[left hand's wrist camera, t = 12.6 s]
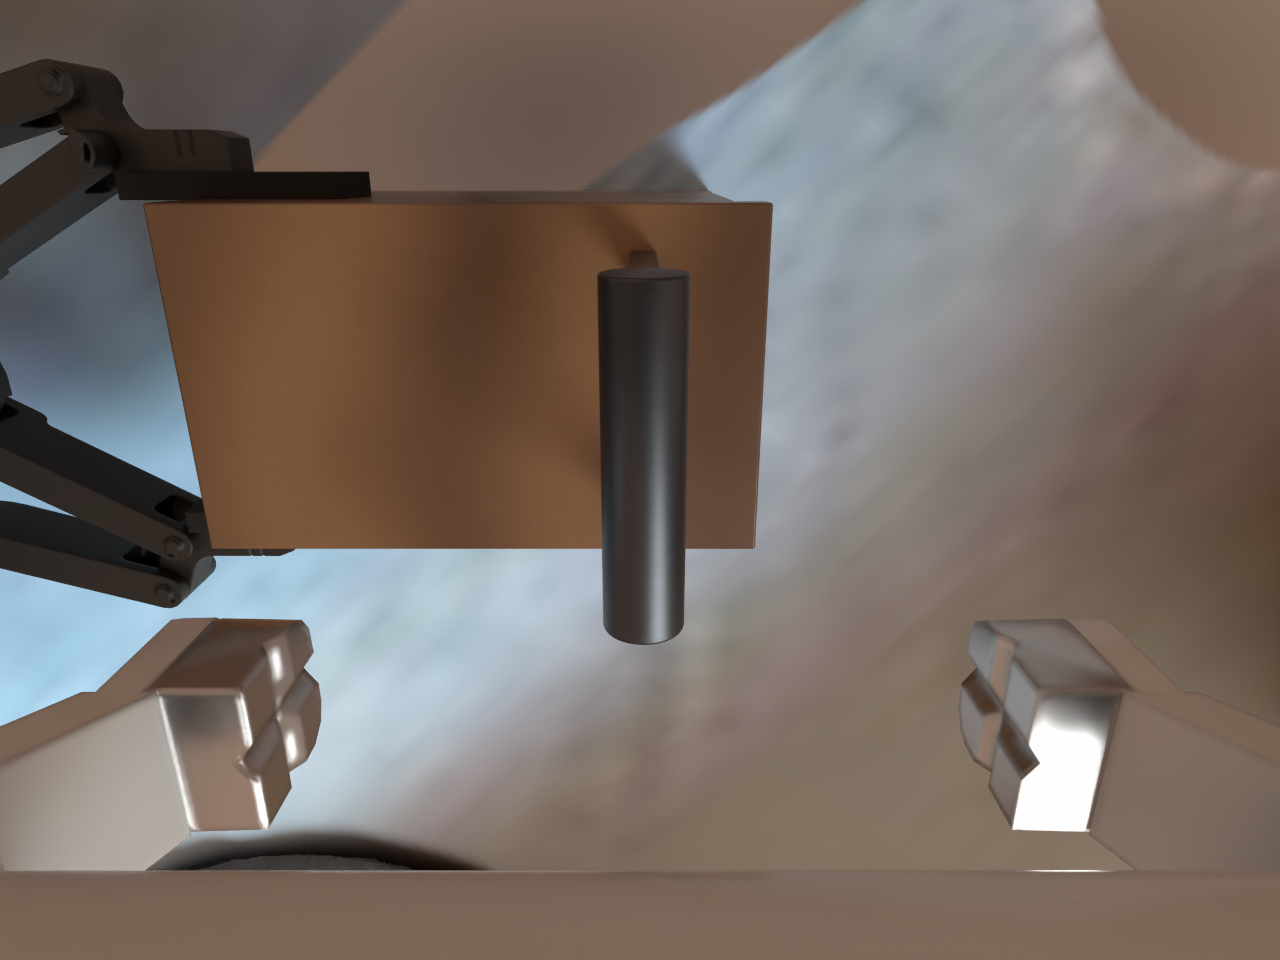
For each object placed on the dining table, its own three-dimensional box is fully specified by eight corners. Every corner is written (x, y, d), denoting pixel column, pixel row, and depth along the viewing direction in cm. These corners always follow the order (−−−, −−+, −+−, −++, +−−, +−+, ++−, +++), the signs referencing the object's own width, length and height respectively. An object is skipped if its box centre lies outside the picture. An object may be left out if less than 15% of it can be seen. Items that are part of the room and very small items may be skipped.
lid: (768, 201, 22) (831, 219, 15) (750, 536, 26) (795, 686, 18) (161, 201, 22) (-78, 219, 15) (226, 536, 26) (57, 686, 18)
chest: (708, 191, 32) (736, 200, 23) (702, 438, 35) (723, 535, 26) (301, 191, 32) (162, 201, 23) (335, 439, 35) (226, 535, 26)
